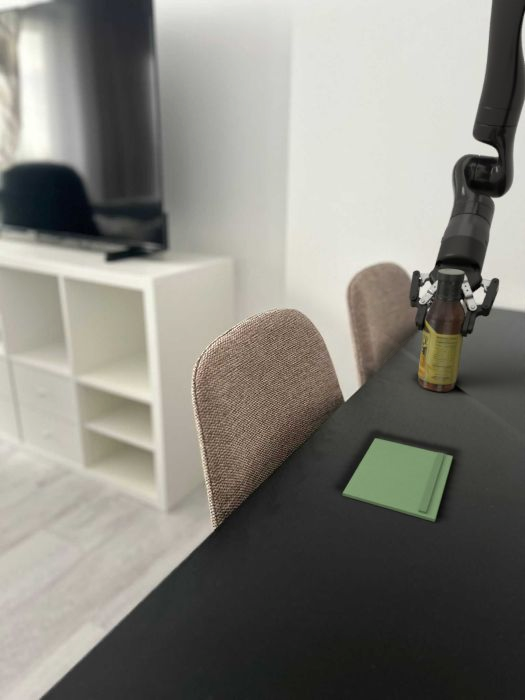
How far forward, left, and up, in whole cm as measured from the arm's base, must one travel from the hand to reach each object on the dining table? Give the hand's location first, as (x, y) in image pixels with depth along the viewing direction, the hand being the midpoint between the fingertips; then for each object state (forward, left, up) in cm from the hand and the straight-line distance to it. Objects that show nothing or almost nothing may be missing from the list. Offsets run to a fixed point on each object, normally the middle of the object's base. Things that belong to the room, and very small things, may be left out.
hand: (441, 330), depth 82 cm
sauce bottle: (-1, -1, -11) cm, 11 cm away
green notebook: (+17, +23, -10) cm, 30 cm away
